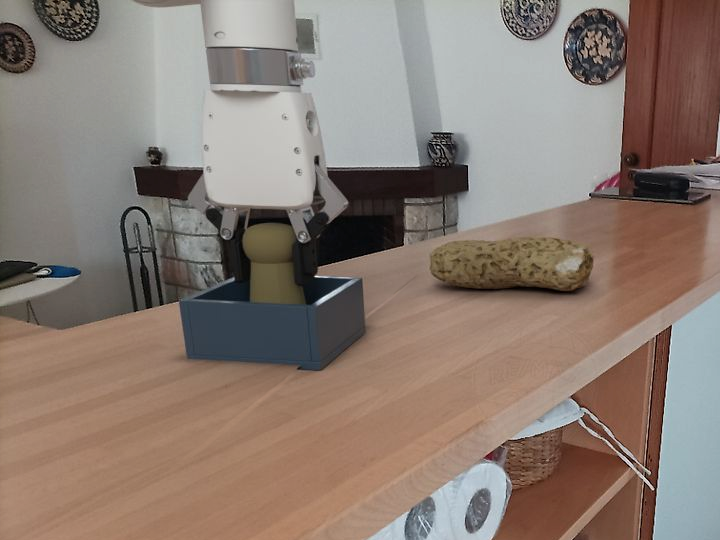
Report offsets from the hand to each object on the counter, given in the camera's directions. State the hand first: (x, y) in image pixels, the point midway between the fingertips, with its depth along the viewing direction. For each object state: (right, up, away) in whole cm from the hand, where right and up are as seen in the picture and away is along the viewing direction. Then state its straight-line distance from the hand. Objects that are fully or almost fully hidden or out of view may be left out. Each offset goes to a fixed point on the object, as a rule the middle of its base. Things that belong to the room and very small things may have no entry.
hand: (275, 279), depth 74 cm
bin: (0, -6, +2) cm, 7 cm away
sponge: (+21, +3, +28) cm, 36 cm away
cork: (0, -6, +2) cm, 6 cm away
